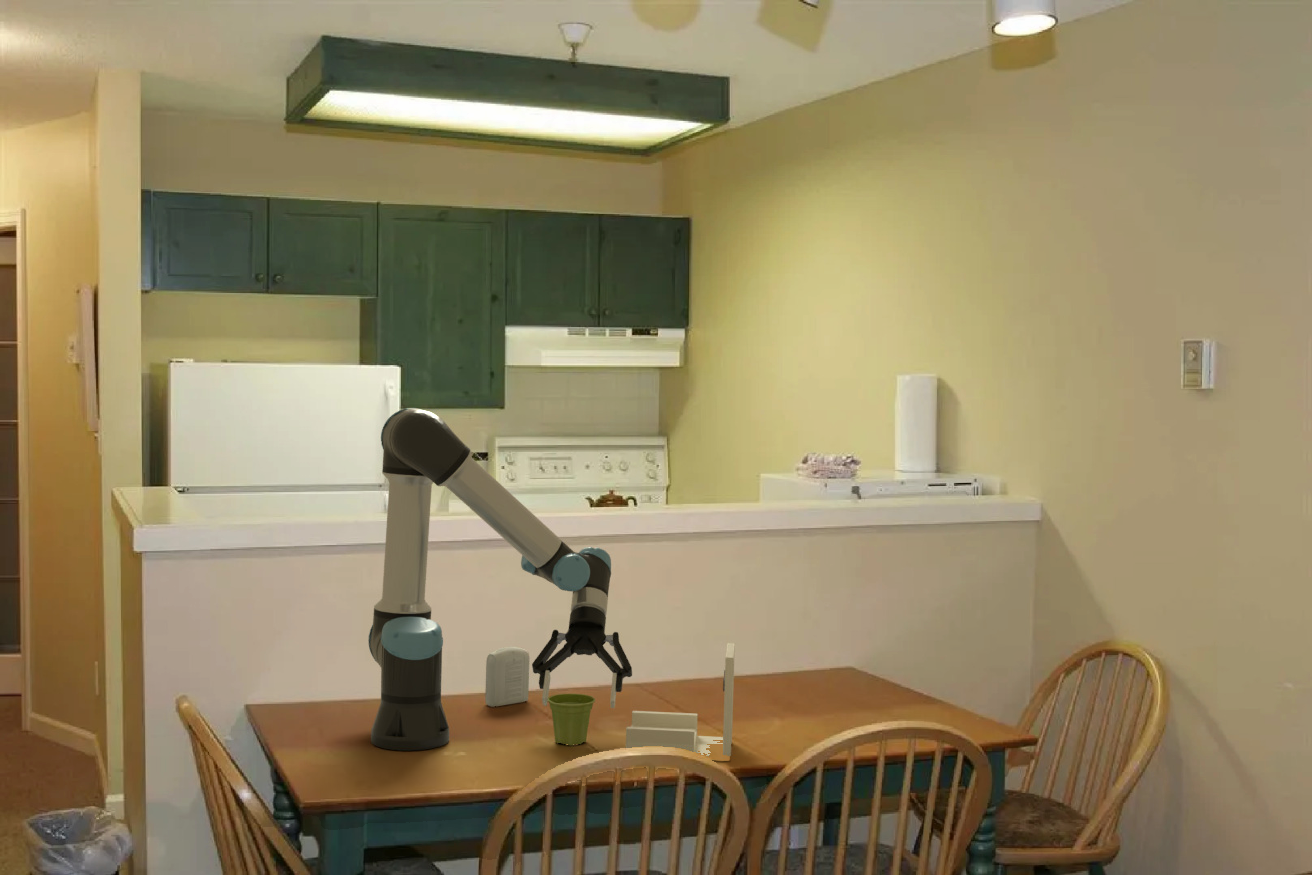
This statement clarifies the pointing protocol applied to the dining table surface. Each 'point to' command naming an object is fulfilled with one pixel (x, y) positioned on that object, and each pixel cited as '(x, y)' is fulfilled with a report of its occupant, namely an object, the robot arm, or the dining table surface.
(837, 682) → the dining table surface
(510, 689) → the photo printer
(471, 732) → the dining table surface
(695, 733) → the bracket shelf
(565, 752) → the dining table surface
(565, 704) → the plant pot
